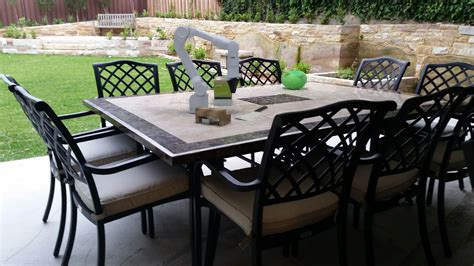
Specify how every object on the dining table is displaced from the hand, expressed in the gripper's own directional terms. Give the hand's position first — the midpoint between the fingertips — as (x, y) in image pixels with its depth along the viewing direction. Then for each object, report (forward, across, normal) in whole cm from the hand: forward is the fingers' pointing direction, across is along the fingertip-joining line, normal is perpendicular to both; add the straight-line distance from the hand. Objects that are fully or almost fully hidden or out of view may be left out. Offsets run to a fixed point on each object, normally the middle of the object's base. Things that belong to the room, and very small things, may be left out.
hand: (233, 93), depth 198 cm
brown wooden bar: (+10, -20, -1) cm, 22 cm away
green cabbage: (+10, +90, +1) cm, 91 cm away
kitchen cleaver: (+11, +3, -12) cm, 17 cm away
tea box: (+10, +19, +17) cm, 27 cm away
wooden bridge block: (+10, -24, -3) cm, 26 cm away
